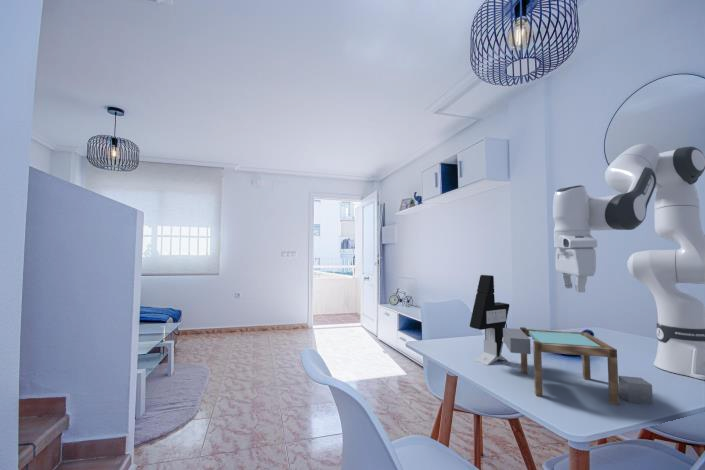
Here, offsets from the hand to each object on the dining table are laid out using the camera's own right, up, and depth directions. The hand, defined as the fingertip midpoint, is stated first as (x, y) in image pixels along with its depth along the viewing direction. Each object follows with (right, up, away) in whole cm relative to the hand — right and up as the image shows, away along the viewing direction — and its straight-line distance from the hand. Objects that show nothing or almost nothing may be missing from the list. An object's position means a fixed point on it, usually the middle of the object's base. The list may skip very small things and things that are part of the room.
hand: (574, 290), depth 94 cm
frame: (-4, -27, -1) cm, 27 cm away
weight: (+10, -27, -9) cm, 30 cm away
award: (-15, -29, +21) cm, 39 cm away
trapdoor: (-7, -17, +1) cm, 19 cm away
